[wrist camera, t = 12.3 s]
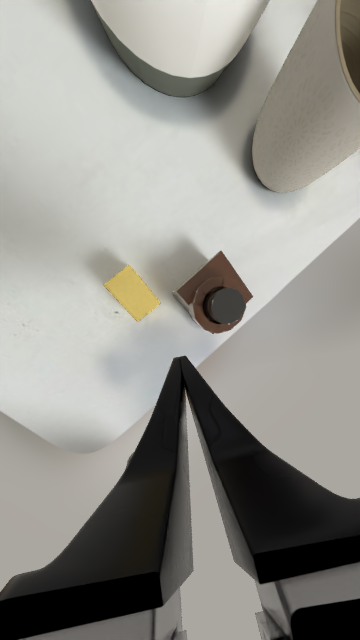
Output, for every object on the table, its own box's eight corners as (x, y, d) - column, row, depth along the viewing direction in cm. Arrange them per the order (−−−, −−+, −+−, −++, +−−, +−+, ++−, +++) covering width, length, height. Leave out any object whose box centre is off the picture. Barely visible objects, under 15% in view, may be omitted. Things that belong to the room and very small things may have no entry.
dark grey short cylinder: (216, 327, 17) (225, 331, 15) (197, 304, 16) (204, 305, 14) (239, 306, 17) (251, 307, 15) (221, 282, 16) (231, 279, 14)
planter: (320, 145, 22) (476, 0, 11) (287, 219, 23) (401, 150, 12) (262, 90, 19) (395, -170, 9) (228, 177, 20) (308, 41, 10)
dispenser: (200, 331, 23) (216, 343, 17) (168, 295, 21) (174, 294, 15) (236, 298, 24) (265, 297, 17) (208, 260, 22) (229, 243, 15)
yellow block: (160, 302, 21) (161, 302, 17) (140, 317, 21) (137, 322, 17) (134, 270, 20) (129, 264, 16) (113, 287, 20) (102, 284, 16)
